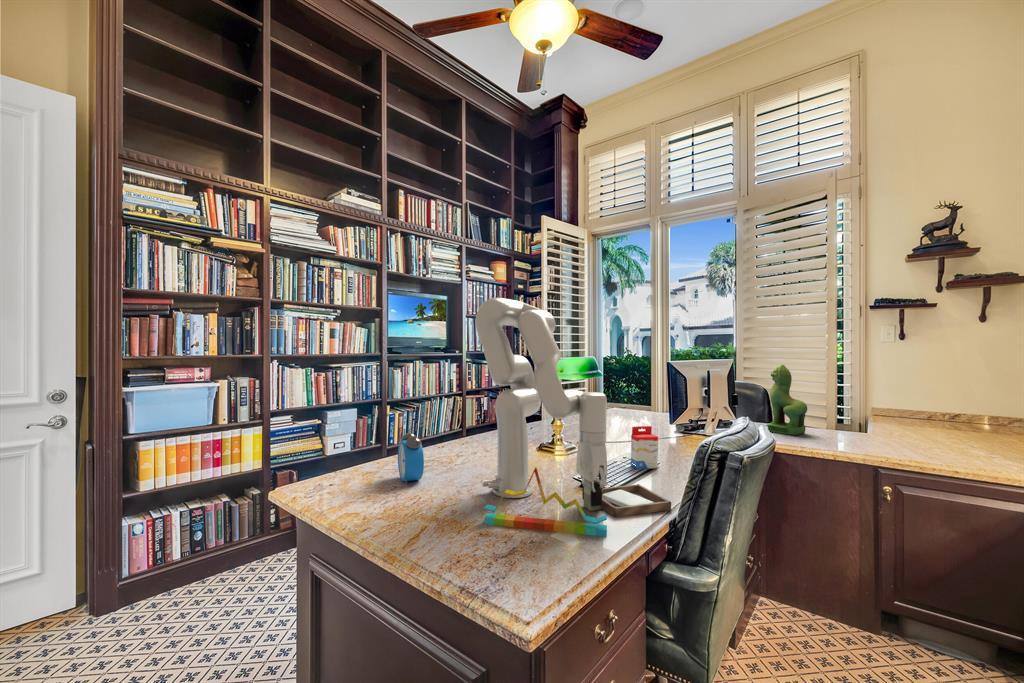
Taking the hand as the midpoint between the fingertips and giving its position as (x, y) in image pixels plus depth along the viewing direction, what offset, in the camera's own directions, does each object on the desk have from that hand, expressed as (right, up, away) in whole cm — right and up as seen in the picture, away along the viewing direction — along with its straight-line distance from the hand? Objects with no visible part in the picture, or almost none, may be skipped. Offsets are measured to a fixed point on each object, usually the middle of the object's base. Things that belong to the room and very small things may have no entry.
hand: (591, 501), depth 125 cm
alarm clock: (-56, -1, +23) cm, 60 cm away
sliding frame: (+9, -2, +3) cm, 10 cm away
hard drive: (+11, -2, +3) cm, 12 cm away
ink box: (+27, -2, +41) cm, 49 cm away
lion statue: (+119, -2, +105) cm, 158 cm away
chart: (-14, -2, -13) cm, 19 cm away
